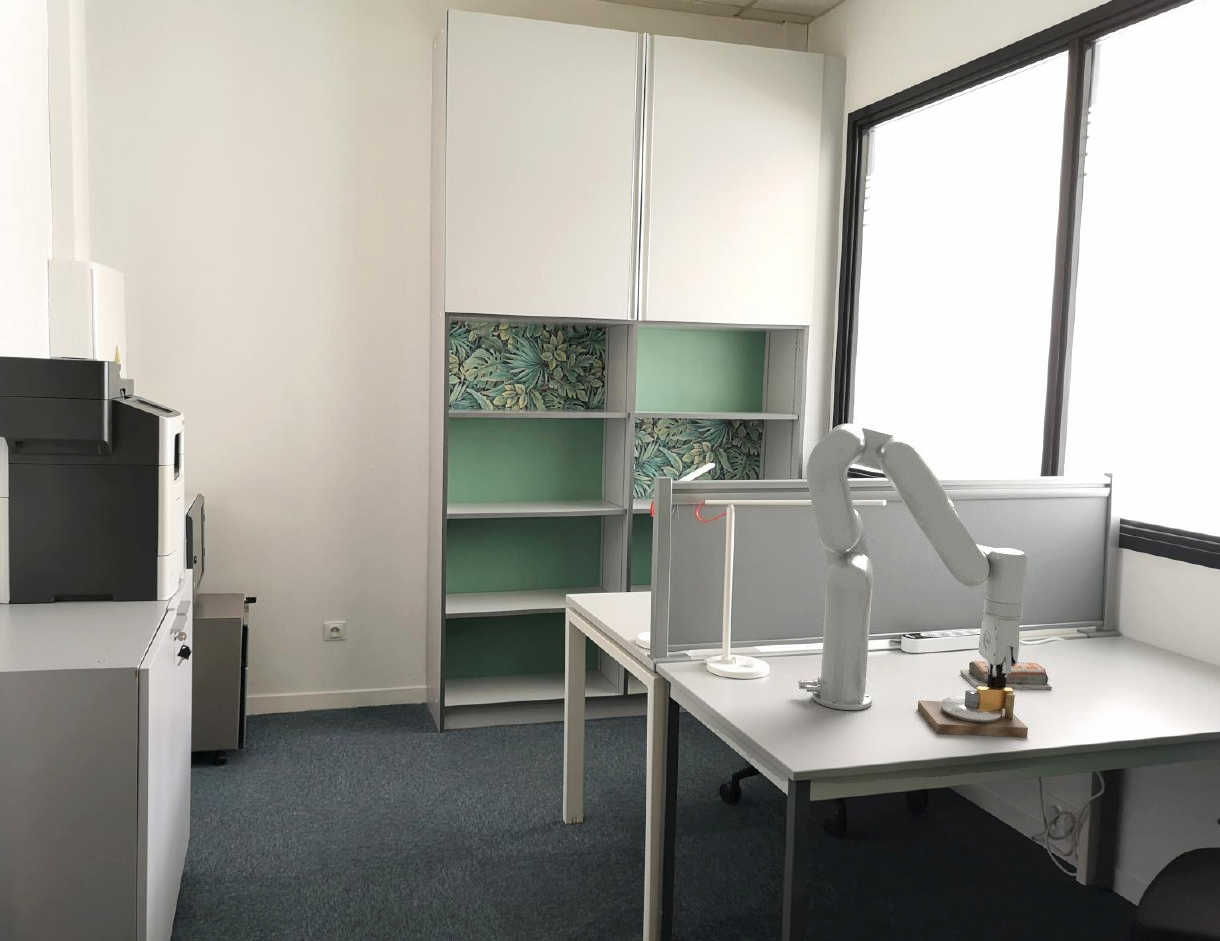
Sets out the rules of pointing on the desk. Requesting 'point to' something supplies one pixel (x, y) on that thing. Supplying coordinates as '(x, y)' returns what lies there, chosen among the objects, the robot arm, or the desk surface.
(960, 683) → the desk surface
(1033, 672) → the packaged product
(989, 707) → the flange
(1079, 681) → the desk surface
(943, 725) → the board
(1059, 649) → the desk surface
